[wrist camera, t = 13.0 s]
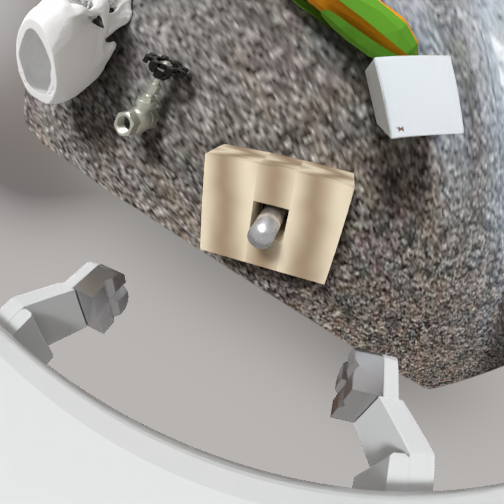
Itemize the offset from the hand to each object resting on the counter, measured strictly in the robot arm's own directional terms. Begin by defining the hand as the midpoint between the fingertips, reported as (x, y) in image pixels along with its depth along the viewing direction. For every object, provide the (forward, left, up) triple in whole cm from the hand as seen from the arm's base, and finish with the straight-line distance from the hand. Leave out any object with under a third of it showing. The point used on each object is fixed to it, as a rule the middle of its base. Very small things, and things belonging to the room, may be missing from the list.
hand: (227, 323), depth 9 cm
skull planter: (+37, -14, -32) cm, 51 cm away
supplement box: (-8, -9, -32) cm, 35 cm away
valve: (+24, -3, -32) cm, 40 cm away
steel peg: (+4, +10, -32) cm, 34 cm away
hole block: (+4, +10, -32) cm, 34 cm away
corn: (0, -18, -32) cm, 37 cm away
